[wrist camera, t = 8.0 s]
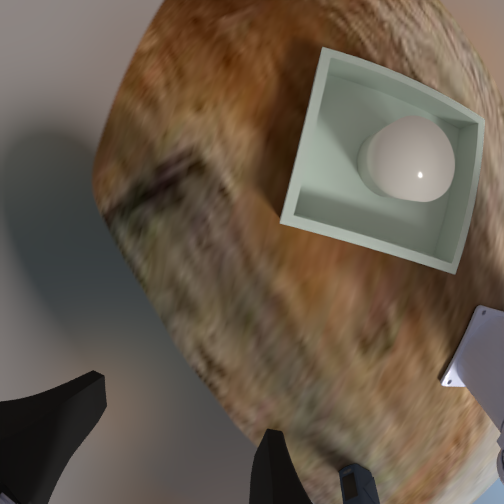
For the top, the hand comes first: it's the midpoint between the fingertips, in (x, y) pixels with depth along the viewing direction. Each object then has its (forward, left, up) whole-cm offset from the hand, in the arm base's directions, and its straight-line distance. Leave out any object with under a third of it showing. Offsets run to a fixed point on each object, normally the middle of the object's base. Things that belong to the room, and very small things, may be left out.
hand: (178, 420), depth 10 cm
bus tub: (-8, -14, -10) cm, 19 cm away
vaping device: (-18, +16, -11) cm, 26 cm away
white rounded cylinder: (-8, -13, -10) cm, 19 cm away
